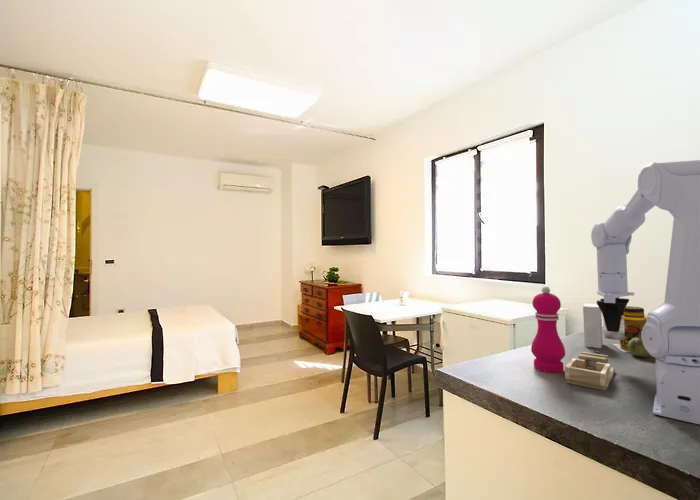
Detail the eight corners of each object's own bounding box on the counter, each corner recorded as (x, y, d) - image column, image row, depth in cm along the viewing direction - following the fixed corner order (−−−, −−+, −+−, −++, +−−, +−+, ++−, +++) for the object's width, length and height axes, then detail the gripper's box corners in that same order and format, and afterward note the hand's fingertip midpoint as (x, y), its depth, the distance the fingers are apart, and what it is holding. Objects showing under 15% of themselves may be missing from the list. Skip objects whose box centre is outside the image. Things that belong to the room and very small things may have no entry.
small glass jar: (624, 341, 80) (623, 317, 80) (602, 338, 83) (601, 315, 83) (625, 337, 83) (625, 314, 83) (604, 334, 86) (603, 312, 86)
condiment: (623, 352, 95) (622, 309, 95) (612, 344, 103) (610, 304, 103) (656, 354, 93) (654, 309, 93) (641, 346, 101) (640, 305, 101)
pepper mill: (531, 371, 82) (529, 287, 82) (531, 362, 88) (529, 285, 89) (567, 375, 79) (564, 288, 79) (564, 366, 85) (561, 285, 85)
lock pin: (598, 370, 78) (597, 360, 78) (586, 367, 80) (586, 358, 80) (603, 361, 84) (603, 352, 84) (592, 359, 86) (592, 350, 86)
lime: (626, 353, 94) (626, 335, 94) (649, 355, 91) (649, 337, 91) (629, 358, 90) (629, 339, 90) (654, 360, 88) (653, 341, 88)
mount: (605, 391, 70) (604, 371, 70) (565, 383, 74) (564, 364, 74) (614, 372, 80) (613, 354, 80) (579, 365, 85) (578, 349, 85)
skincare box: (585, 341, 106) (584, 303, 106) (602, 343, 104) (601, 304, 104) (583, 346, 102) (582, 306, 102) (601, 348, 99) (600, 307, 99)
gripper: (631, 275, 75) (633, 337, 75) (635, 272, 86) (637, 326, 85) (592, 274, 80) (594, 333, 80) (600, 271, 90) (602, 323, 90)
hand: (614, 329), depth 83 cm, fingers closed on small glass jar, 4 cm apart
